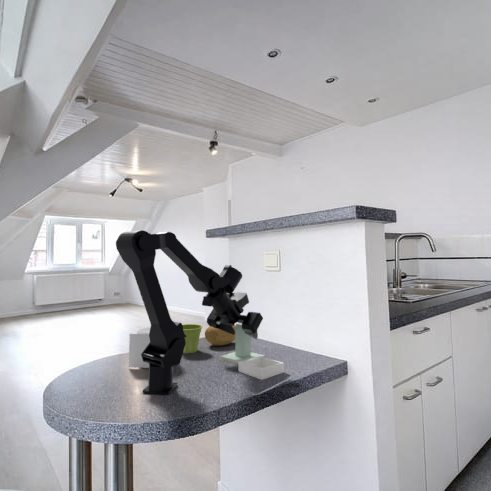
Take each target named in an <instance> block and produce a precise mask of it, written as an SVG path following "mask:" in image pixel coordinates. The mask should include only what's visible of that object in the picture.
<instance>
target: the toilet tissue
mask: <svg viewBox="0 0 491 491" xmlns="http://www.w3.org/2000/svg"><path fill="white" fill-rule="evenodd" d="M150 328H151V326H150V327H144V328H140V329H138V330H137V333H129V341H128V342H129V344H128V345H129V346H128V367H129V368H144V369H149V363H147V362H143V360H142V357H141V354H142V352H143V351H144V350H145V348H146V347H147V346H148V344H149V343H150V338H149V333H150ZM160 356H162V357H164V355H162V354H161V355H160Z"/></svg>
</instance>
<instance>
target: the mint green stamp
mask: <svg viewBox="0 0 491 491" xmlns="http://www.w3.org/2000/svg"><path fill="white" fill-rule="evenodd" d="M235 326H236V339H235V340H234V341H235V346H234V347H235V348H234V349H235V350H234V351H232V352H230V353H227V354H224V355H221V356H220V359H221V360H220V361H222V360H225V361H224V362H226V361H229V362H228V363H230V362H233V363H232V364H234V363H237V364H239V362H240V361H244V360H248V359H252V358H256V357H259V356H262V357H265V358H266V355H265V354H260V353H256V352H251V351H252V349H251V348H252V337H251V336H249V335H247V334H246V333H244V332H245V331H243V329H242V323H238V322H237V323H235ZM237 364H236V365H237Z"/></svg>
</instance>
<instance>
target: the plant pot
mask: <svg viewBox="0 0 491 491" xmlns="http://www.w3.org/2000/svg"><path fill="white" fill-rule="evenodd" d="M182 325H183V331H184V333H185V335H186V336H187V337H184V338H185V341H186V345H185V347H184V351H183V354H194V353H197V352H198V349H199V345H200V344H199V343H200V338H201V332H202V329H203V325H201V324H197V323H195V324H194V323H187V324H186V323H185V324H182Z"/></svg>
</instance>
